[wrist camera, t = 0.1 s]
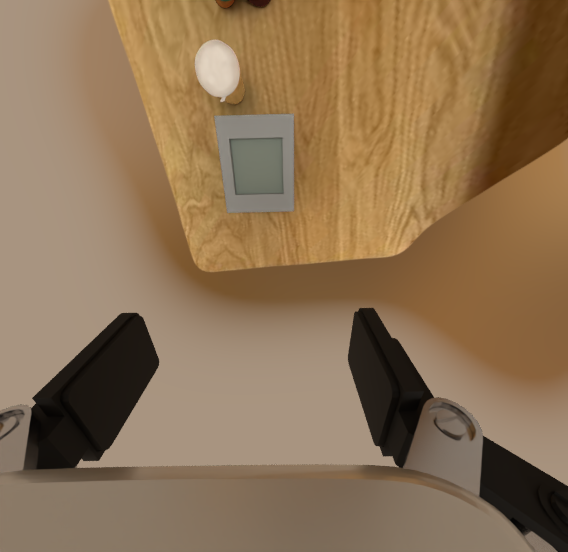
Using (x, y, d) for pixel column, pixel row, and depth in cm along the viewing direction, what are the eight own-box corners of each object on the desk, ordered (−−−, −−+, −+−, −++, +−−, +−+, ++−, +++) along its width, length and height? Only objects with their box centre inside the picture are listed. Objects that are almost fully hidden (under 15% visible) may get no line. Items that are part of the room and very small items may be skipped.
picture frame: (222, 120, 32) (214, 115, 29) (292, 118, 32) (293, 113, 29) (232, 207, 38) (227, 212, 34) (292, 205, 38) (294, 211, 34)
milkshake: (223, 120, 32) (201, 106, 24) (211, 72, 30) (180, 36, 21) (254, 113, 32) (243, 96, 23) (244, 64, 30) (228, 24, 21)
